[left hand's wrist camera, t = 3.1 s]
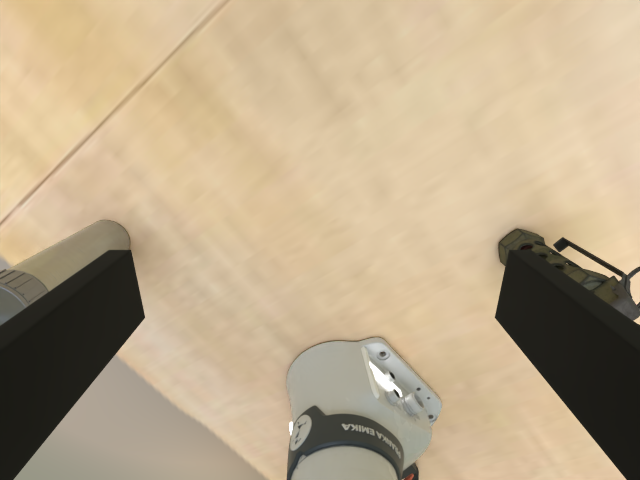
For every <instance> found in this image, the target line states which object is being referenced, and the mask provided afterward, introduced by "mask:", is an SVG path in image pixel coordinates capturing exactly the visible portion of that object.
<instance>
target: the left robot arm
mask: <svg viewBox="0 0 640 480" xmlns="http://www.w3.org/2000/svg"><path fill="white" fill-rule="evenodd" d="M144 318H145V315H144V310H143V305H142V300H141V296H140V291H139V286H138V281H137V276H136V272H135V267H134V262H133V257H132V252H131V250H108V251H106V252H105V253H104V254H102V255H101V256H99V257H98V258H96V259H95V260H94V261H92V262H91V263H89V264H88V265H86V266H85V267H84V268H82V269H81V270H79V271H78V272H76V273H75V274H74V275H72V276H71V277H69V278H68V279H66V280H65V281H63V282H62V283H61V284H59V285H58V286H56V287H55V288H53V289H52V290H51V291H49V292H48V293H46V294H45V295H43V296H42V297H41V298H39V299H38V300H36V301H35V302H33V303H32V304H31V305H29V306H28V307H26V308H25V309H23V310H22V311H20V312H19V313H18V314H16V315H15V316H13V317H12V318H10V319H9V320H8V321H6V322H5V323H3V324H2V325H0V480H13V479H14V478H15V477H16V476H17V474H18V473H19V472H20V471H21V470H22V468H23V467H24V466H25V465H26V463H27V462H28V461H29V460H30V458H31V457H32V456H33V455H34V454H35V452H36V451H37V450H38V449H39V447H40V446H41V445H42V444H43V443H44V441H45V440H46V439H47V438H48V436H49V435H50V434H51V433H52V431H53V430H54V429H55V428H56V427H57V425H58V424H59V423H60V422H61V420H62V419H63V418H64V417H65V415H66V414H67V413H68V412H69V411H70V409H71V408H72V407H73V406H74V404H75V403H76V402H77V401H78V399H79V398H80V397H81V396H82V395H83V393H84V392H85V391H86V390H87V388H88V387H89V386H90V385H91V383H92V382H93V381H94V380H95V379H96V377H97V376H98V375H99V374H100V372H101V371H102V370H103V369H104V368H105V366H106V365H107V364H108V363H109V361H110V360H111V359H112V358H113V356H114V355H115V354H116V353H117V352H118V350H119V349H120V348H121V347H122V345H123V344H124V343H125V342H126V340H127V339H128V338H129V337H130V336H131V334H132V333H133V332H134V331H135V329H136V328H137V327H138V326H139V324H140V323H141V322H142V321H143V320H144ZM495 318H496V320H497V321H498V322H499V323H500V324H501V326H502V327H503V328H504V329H505V331H506V332H507V333H508V334H509V336H510V337H511V338H512V339H513V340H514V342H515V343H516V344H517V345H518V347H519V348H520V349H521V350H522V352H523V353H524V354H525V355H526V356H527V358H528V359H529V360H530V361H531V363H532V364H533V365H534V366H535V368H536V369H537V370H538V371H539V372H540V374H541V375H542V376H543V377H544V379H545V380H546V381H547V382H548V383H549V385H550V386H551V387H552V388H553V390H554V391H555V392H556V393H557V395H558V396H559V397H560V398H561V399H562V401H563V402H564V403H565V404H566V406H567V407H568V408H569V409H570V411H571V412H572V413H573V414H574V415H575V417H576V418H577V419H578V420H579V422H580V423H581V424H582V425H583V427H584V428H585V429H586V430H587V431H588V433H589V434H590V435H591V436H592V438H593V439H594V440H595V441H596V443H597V444H598V445H599V446H600V447H601V449H602V450H603V451H604V452H605V454H606V455H607V456H608V457H609V458H610V460H611V461H612V462H613V463H614V465H615V466H616V467H617V468H618V470H619V471H620V472H621V473H622V474H623V476H624V477H625V478H626V479H627V480H640V325H639V324H637V323H635V322H634V321H632V320H631V319H630V318H628V317H627V316H625V315H624V314H622V313H621V312H620V311H618V310H617V309H615V308H614V307H612V306H611V305H609V304H608V303H607V302H605V301H604V300H602V299H601V298H599V297H598V296H597V295H595V294H594V293H592V292H591V291H589V290H588V289H587V288H585V287H584V286H582V285H581V284H579V283H578V282H577V281H575V280H574V279H572V278H571V277H569V276H568V275H566V274H565V273H564V272H562V271H561V270H559V269H558V268H556V267H555V266H554V265H552V264H551V263H549V262H548V261H546V260H545V259H544V258H542V257H541V256H539V255H538V254H536V253H535V252H534V251H532V250H509V252H508V257H507V262H506V267H505V272H504V276H503V281H502V286H501V291H500V296H499V300H498V305H497V310H496V315H495Z"/></svg>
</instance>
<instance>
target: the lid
mask: <svg viewBox="0 0 640 480" xmlns="http://www.w3.org/2000/svg"><path fill="white" fill-rule="evenodd" d="M46 293H48V291H47V289H46V288H45V287H44V285H43V284H42V283H41V282H40V281H39V280H37V279H36V278H34V277H33V276H31V275H29V274H27V273H25V272H22V271H18V270H6V269H4V270H1V271H0V325H2V324H3V323H5V322H6V321H8V320H9V319H10V318H12V317H13V316H15V315H16V314H18V313H19V312H20V311H22V310H23V309H25V308H26V307H28V306H29V305H31V304H32V303H33V302H35V301H36V300H38V299H39V298H41V297H42V296H43V295H45V294H46Z"/></svg>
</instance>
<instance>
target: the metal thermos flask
mask: <svg viewBox="0 0 640 480" xmlns="http://www.w3.org/2000/svg"><path fill="white" fill-rule="evenodd" d="M129 246H130V239H129V236H128V233H127V232H126V230H125V229H124V228H123V227H122V226H121V225H119V224H118V223H116V222H113V221H110V220H101V221H97V222H96V223H94V224H92V225H90V226H88V227H86V228H84V229H82V230H81V231H79V232H77V233H75V234H73V235H71V236H69V237H67V238H66V239H64V240H62V241H60V242H58V243H56V244H54V245H52V246H51V247H49V248H47V249H45V250H43V251H41V252H39V253H38V254H36V255H34V256H32V257H30V258H28V259H26V260H24V261H23V262H21V263H19V264H17V265H15V266H13V267H11V268H9V269H8V270H18V271H22V272H25V273H27V274H29V275H31V276H33V277H34V278H36V279H37V280H39V281H40V282H41V283H42V284H43V285H44V287H45V288H46V289H47V291H48V292H49V291H51V290H52V289H53V288H55V287H56V286H58V285H59V284H61V283H62V282H63V281H65V280H66V279H68V278H69V277H71V276H72V275H74V274H75V273H76V272H78V271H79V270H81V269H82V268H84V267H85V266H86V265H88V264H89V263H91V262H92V261H94V260H95V259H96V258H98V257H99V256H101V255H102V254H104V253H105V252H106V251H108V250H128V249H129Z"/></svg>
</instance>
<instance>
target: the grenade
mask: <svg viewBox="0 0 640 480" xmlns="http://www.w3.org/2000/svg"><path fill="white" fill-rule="evenodd" d="M553 246H554V247H555V248H556V249H557V250H558V252H561V251H562V250H564V249H565V248H566V247H568V246H570V247H572V248H574V249H575V250H577V251H579V252H580V253H582V254H584V255H585V256H587V257H589V258H590V259H592V260H594V261H595V262H597V263H599V264H600V265H602V266H604V267H605V268H607V269H609V270H611V271H612V272H614V273H616V274H617V275H619V276H621V277H622V279H621V280H620V281H618V280H617V279H616V277H615V276H612V277H611V278H609V277H607V276H605V275H603V274H600V273H597V272H593V271H590V270H586V269H582V268H581V267H580V266H578V265H577V264H575V263H574V262H572V261H570V260H569V259H567V258H565V257H564V256H562V255H561V254H559V253H558V252H556V251H554V250H553V249H551V248H550V247H548V246H546V245H545V242H544V238H543V237H541V236H539V235H538V234H535V233H532V232H529V231H525V230H521V229H516V230H515V231H513V232H511V233H510V234H508V235H507V236H506V237H505V238H503V239H502V240H501V242H500V243H499V256H500V261H501V263H502V264H504V265H505V266H506V262H507V257H508V252H509V250H532V251H534V252H535V253H536V254H538V255H539V256H541V257H542V258H544V259H545V260H546V261H548V262H549V263H551V264H552V265H554V266H555V267H556V268H558V269H559V270H561V271H562V272H564V273H565V274H566V275H568V276H569V277H571V278H572V279H574V280H575V281H577V282H578V283H579V284H581V285H582V286H584V287H585V288H587V289H588V290H589V291H591V292H592V293H594V294H595V295H597V296H598V297H599V298H601V299H602V300H604V301H605V302H607V303H608V304H609V305H611V306H612V307H614V308H615V309H617V310H618V311H620V312H621V313H622V314H624V315H625V316H627V317H628V318H630V319H631V320H632V321H633V320H635V319H637V318H638V317H639V316H640V302H639V303H638V304H637V305H636V304H635V302H634V301H633V299H632V296H631V293H630V278H631V277H633V276H634V275H635V274H636V273H637V272H639V271H640V267H638V268H636V269H634V270H633V271H632V272H630V273H629V274H628V275H626V274H624V272H622V271H620V270H619V269H617V268H615V267H614V266H612V265H610V264H608V263H607V262H605V261H603V260H601V259H600V258H598V257H596V256H594V255H593V254H591V253H589V252H588V251H586V250H584V249H582V248H581V247H579V246H577V245H575V244H574V243H572V242H570V241H568V240H567V239H565V238H563V237H562V238H561V239H560V240H558V241H557V242H556V243H555V244H553ZM550 252H551V253H552V254H551V253H550ZM566 263H567V264H566Z"/></svg>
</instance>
